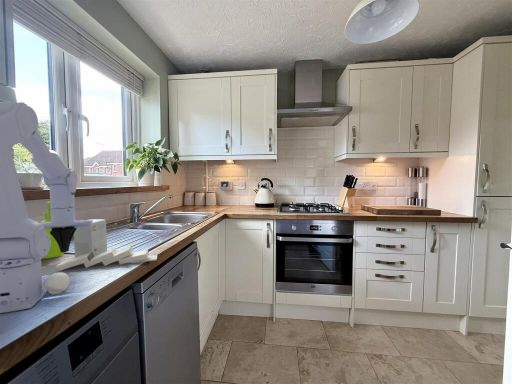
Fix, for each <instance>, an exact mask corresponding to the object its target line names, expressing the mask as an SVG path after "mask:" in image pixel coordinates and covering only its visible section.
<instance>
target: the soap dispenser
mask: <svg viewBox="0 0 512 384" xmlns="http://www.w3.org/2000/svg"><path fill="white" fill-rule="evenodd" d="M45 205H47V210H46V211H44V217H45V219H44V220H41V221H40V223H43V222H51V209H50V200H49V201H46V202H45ZM55 227H61V226H55ZM51 230H52V229H45V231H46V233H47V234H48V235H49V237H50V240H51V247H50V250H49V252H48V254H47V255H46V256H45V257H44V258H43V259H52V258H58V257H61V256H64V254H65V252H63V253H61V251H60V248H59V246H58V244H57V242H56V240H55V239H54V237H53V236H52V235H51V234H50V231H51Z"/></svg>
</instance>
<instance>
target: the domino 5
mask: <svg viewBox="0 0 512 384" xmlns="http://www.w3.org/2000/svg"><path fill="white" fill-rule="evenodd" d="M157 260H158V254H153V255H148V257H147V258H146V259H143V260H138V261H134V262H129V264H136V263H144V262H154V261H157Z"/></svg>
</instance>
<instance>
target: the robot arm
mask: <svg viewBox="0 0 512 384" xmlns="http://www.w3.org/2000/svg"><path fill="white" fill-rule="evenodd" d="M17 144H20V145H21V146H23V148H25V150H27V151H28V152H29V153H30V154H31V155H32V158H31V162H32V164H33V165H34V166H36V168H37V169H38V171H40V172H41V176H42V179H43V181H44V185H45V186H47V187H48V189H49V201H50V209H51V222H43V223H41V222H39V221H36V220H34V219H32V218H30V217H29V213H28V210H27V205H26V202H25V199H24V195H23V191H22V186H21V183H20V179H19V175H18V172H17V168H16V165H15V164H16V163H15V161H14V157H13V153H12V149H13V147H14V146H15V145H17ZM77 185H78V173H77V172H76V170H74V169H72V168H69V167H68V165H66V163H65V162H64V160H63V159H62V158H61V157H60V155H59V154H58V153H57V152H56V151H55V150H52V149H49V148H48V146H47V143H45V141H44V139H43V138H42V136H41V134H40V132H39V119H38V115H37V113H36V111H35V110H34V108H33V107H32V106H31V105H30V104H29V103H27V102H21V101H20V102H13V101H12V102H11V101H0V314H3V313H9V312H16V311H22V310H27V309H28V310H29V309H31V308H33V306H35V305H36V304H37V303H38V302H39V301H40V300H42V298H43V297H44V296H45V295H46V294H47V293H49V292H48V288H46V287H44V288H43V276H42V269H43V268H42V259H45V258H44V257H45V256H46V255H47V254H48V252H49V250H50V247H51V240H50V237H49V235H48V234H47V233H46V231H45V229H52V230H51V231H50V234H51V235H52V236H53V237H54V239H55V240H56V242H57V244H58V246H59V248H60V251H61V253H63V252H64V253H67V252H69V251H70V250H69V249H70V246H71V241H72V239H73V238H74V233H75V231H76V229H77V228H76V227H92V226H93V220H90V219H87V220H85V219H76V202H75V201H76V200H75V193H76V192H77ZM55 226H61V227H55Z"/></svg>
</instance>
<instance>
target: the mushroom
mask: <svg viewBox="0 0 512 384" xmlns="http://www.w3.org/2000/svg"><path fill="white" fill-rule="evenodd" d="M70 282H71V278H70V276H69V275H68V273H62V272H57V273H54V274H51V275H47V277H46V278H45V279H44V281H43V283H42V286H44V288H48V292H47V293H49V294H50V295H54V296H55V295H59V294H62V293H63V292H64V290H66V289H67V288H68V287H69V285H70Z"/></svg>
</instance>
